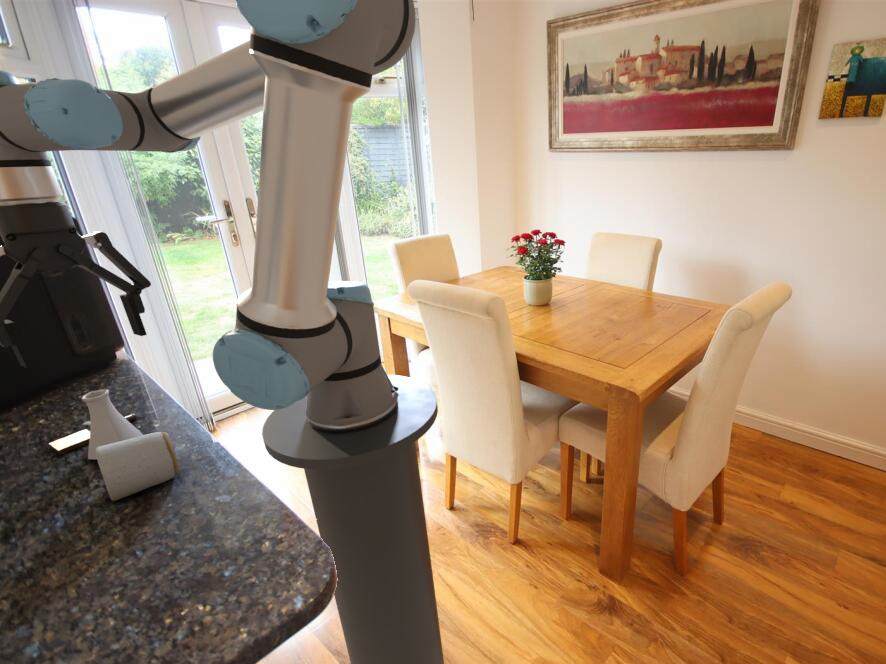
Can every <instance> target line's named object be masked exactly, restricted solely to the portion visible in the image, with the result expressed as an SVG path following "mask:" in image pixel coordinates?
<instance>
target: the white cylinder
mask: <svg viewBox="0 0 886 664" xmlns="http://www.w3.org/2000/svg"><path fill="white" fill-rule="evenodd" d="M173 445H174V444H173V442H172V440H171V437H170V435H169V434H168V433H167V432H166V431H155V432H151V433H146V434H143V435H142V436H139V437H135V438H131V439H127V440H123V441H119V442H115V443H112V444H108V445H104V446H100V447H97V448H96V455H97V459H96V460H97V464H98V466H99V470H100V473H101V475H102V476H101V477H102V478H103V482H104V484H105V487H106V490H107V493H108V496H109V498H110V500H111V501H112V502H116V501H118V500H121V499H124V498H126V497H128V496H131V495H134V494H137V493H140V492H142V491H144V490H146V489H149V488H152V487H154V486H157V485H159V484H162V483H165V482H167V481H170V480H171V479H173V478H175V477H176V476H178V475H179V473H180V471H181V468H180V464H179V460H178V457H177V454H176V450H175V448H174V446H173Z"/></svg>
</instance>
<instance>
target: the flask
mask: <svg viewBox="0 0 886 664" xmlns="http://www.w3.org/2000/svg"><path fill="white" fill-rule="evenodd" d="M109 394H110V390H109V389H98V390H94V391H93V390H92V391H89V392H88V393H85V394H84V395H82V397H81V401H82V402H83V403H86V407H87V408H88V412H89V419H90V425H89V431H90V440H89V443H88V451H87V460H97V455H96V448H97V447H100V446H104V445H108V444H112V443H115V442H119V441H123V440H127V439H131V438H135V437H139V436H142V435H144V434H143V433H142V432H141V431H140V430H139V429H138V428H137V427H136V426H135V425H134V424H132V423H131V421H130V422H129V421H127V420H126V419H125V418H124V417H125V416H123V414H121V412H119V411H118V410H117V408H116V407H115V406H114V404H113V403H112V402H111V399H110V396H109Z"/></svg>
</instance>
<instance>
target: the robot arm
mask: <svg viewBox="0 0 886 664" xmlns="http://www.w3.org/2000/svg"><path fill="white" fill-rule="evenodd" d="M235 1H236V4H235V5H236V7H237V10H238V11H239V13H240V14H241V16H242V17H243V18H244V19H245V20H246V21H247V23H248V24H249V25H250V37H249V38H250V39H249V40H248V41H246V42H243V43H241V44H239V45H237V46H235V47H233V48H231V49H229V50H227V51H225V52H222V53H220V54H218V55H216V56H214V57H211V58H209V59H208V60H206V61H203V62H202V63H199V64H197V65H195V66H193V67H191V68H189V69H187V70H184V71H182V72H180V73H177V74H176V75H174V76H172V77H169V78H168V79H165V80H163V81H161V82H159V83H158V84H155V85H153V86H151V87H149V88H147V89H145V90H142V91H139V92H126V91H120V90H119V91H118V90H109V89H102V88H98V87H96V86H95V85H93V84H91V83H90V82H88V81H85V80H81V79H75V78H73V79H72V78H70V79H69V78H68V79H65V78H64V79H62V78H57V77H54V78H46V79H45V80H38V81H32V82H23V83H20V81H19V79H18V78H17V76H15V75H14V74H12V73H10V72H8V71H5V70H1V69H0V237H1V242H2V243H1V245H0V257H1V256H6V257H7V258H9V259H11V260H12V261H14V262H15V265H14V266H13V269H12V270H11V271H10V275H9V277H8V279H7V280H6V282H5V284H4V285H3V287H2V288H1V290H0V347H3V348H9V347H11V348H12V350H13V352H14V354H15V357H16V359H17V361H18V363H19V365H20V366H21V367H22V368H25V369H28V370H29V369H31V368H34V367H35V364H34V362H33V360H32V358H31V356H30V354H29V352H28V350H27V347H26V345H25V343H24V341H23V339H22V336H21V334H20V332H19V330H18V328H17V326H16V323H15V322H14V321H12V320H10V319H7V317H8V315H9V314H10V313H11V310H12V309H13V307H14V305H15V303H16V302H17V301H18V299H19V297H20V296H21V294H22V292H23V291H24V289H25V288H26V286H27V284H28V282H29V281H30V280H31V279H32V278H33V276H34V274H35V273H38V274H50V273H52V272H55V271H58V270H59V271H68V270H73V268H75V267H78V268H81V269H83V270H85V271H86V272H88V273H90V274H92V275H94V276H96V277H97V278H99V279H101V280H102V281H104V282H106V283H108V284H110V285H112V286H113V287H115V288H117V289H119V290H120V291H122V292H124V294H119V298H120V302H121V303H122V306H123V309H124V312H125V314H126V317H127V320H128V322H129V325H130V328H131V331H132V333H133V335H136V336H140V337H144V336H147V334H148V333H147V331H146V328H145V325H144V323H143V320H142V317H141V315H140V314H145V312H146V308H145V305H144V303H143V300H142V297H141V294H142V291H143V290H144V289H147V288H150V287H151V285H152V283H151V281H150V280H149V279H148V278H147V277H146V276H145V274H143V273H141V271H140V270H138V269H137V268H136V267H135V266H134V265H133V263H131V262H130V261H129V260H128V259H127V258H126V257H125V256H124V255H123V254H121V252H120V251H119V250H118V249H117V248H116V247H114V245H113V243H112V242H111V239H110V238H109V236H108V234H107V233H106V232H103V231H92V232H91V233H90V234H85V235H81V234H80V233H79V232H78V230H77V228H76V225H75V222H74V220H73V218H72V217H73V216H72V214H71V212H70V210H69V206H68V204H67V203H65V202H64V201H60V199H59V198H62V197H64V194H63V191H62V188H61V185H60V182H59V181H58V179H57V178H58V177H57V176H56V173H55V171H54V168H53V166H52V162H51V161H50V159H49V155H48V152H60V151H62V152H64V151H105V152H106V151H109V152H110V151H111V152H112V151H113V152H117V151H118V152H119V151H120V152H123V151H124V152H125V151H127V152H158V153H159V152H160V153H169V154H172V153H173V154H174V153H178V152H187V151H190V150H193V149H194V148H195V147H197V145H198V143H199V141H200V140H201V137H202V136H204V135H207V134H209V133H211V132H214V131H216V130H219V129H221V128H223V127H224V128H225V127H227V126H228V125H231V124H234V123H236V122H239V121H240V120H243V119H245V118H248V117H250V116H251V117H252V116H253V115H256V114H258V113H260V112H263V115H262V126H261V128H262V129H261V145H260V162H259V175H258V176H259V177H258V191H257V207H256V208H257V209H256V224H255V239H254V240H255V241H254V253H253V255H254V256H253V257H254V258H253V268H252V269H253V270H252V272H253V273H252V284H251V285H252V286H251V288H249V289H247V290H246V291H244V292H242V294H240V295H239V296H238V298H237V301H236V312H235V326H234V329H232V330H228V331H227V332H225V333H224V334H223V335H222V336H221V337H220V338H218V339H217V341H215V344H214V346H213V349H212V362H213V366H214V369H215V372H216V374H217V375H218V377H219V379H220V380H221V382H222V384H224V386H226V388H228V389H229V391H230V392H231V394H233V395H234V396H236V397H237V398H238V399H240V400H241V401H242V402H244V403H246V404H248V405H250V406H252V407H254V408H258V409H261V410H267V411H274V410H279V409H283V408H286V407H288V406H290V405H292V404H293V403H295V402H296V401H298V400H301V399H303V398H304V397H306V396H307V395H308V397H307V404H306V412H305V413H306V417H307V422H308V424H309V426H310V427H312V428H313V429H315V430H317V431H320V432H324V433H333V434H340V433H350V432H356V431H360V430H364V429H367V428H370V427H373V426H375V425H377V424H379V423H381V422H383V421H385V420H386V419H388V418H389V417H390V416H391V415H392V414H393V413H394V412H395V411H396V409H397V407H398V399H397V393H396V391H398V388H397V387H395V386H393V385H392V383H391V381H390V379H389V377H388V376H387V374H388V373H387V372H386V370H385V369H384V367H383V364H382V357H381V351H380V343H379V336H378V330H377V323H376V316H375V308H374V306H375V303H374V302H373V299H372V294H371V289H370V287H369V285H367V284H366V283H364V282H361V281H354V280H330V273H331V266H332V259H333V253H334V246H335V237H336V231H337V223H338V215H339V210H340V209H339V208H340V201H341V196H342V195H341V194H342V187H343V182H344V181H343V180H344V173H345V167H346V160H347V152H348V144H349V137H350V130H351V122H352V115H353V109H354V104H355V103H356V101H357V100H358V99H360V98H362V97H363V96H365V95H366V94H368V93H369V92H370V91H371V86H372V80H373V76H375V75H378V74H380V73H382V72H384V71H387V70H389V69H391V68H392V67H394V66H396V65H397V64H398V63H399V62H400V61H401V60H402V59H403V58H404V57H405V55H406V53H407V52H408V50H409V48H410V46H411V45H412V42H413V38H414V34H415V30H416V9H415V8H416V7H415V3H414V0H235ZM87 244H88V245H89V246H90V247H92V248H93V249H97V250H98V251H99V252H100V253H101V254H102V255H103V256H104V257H105V258H106V259H108V260H109V261H110V262H111V263H112V264H113V265H114V266H115V267H116V268H117V269H118V270H119V271H120V272H121V273H123V274H124V275H125V276H126V277H127V278H128V279H129V280H130V281H131V282H129V281H128V280H126V279H124V278H122V277H120V276H119V275H117V274H115V273H113V272H112V271H110V270H108V269H106V268H105V267H103V266H101V265H99V264H98V263H96V262H95V261H94V260H92V259H90V258H89V257H87V256H85V255H83V252H84V250H85V248H86V245H87Z"/></svg>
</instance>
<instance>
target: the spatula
mask: <svg viewBox="0 0 886 664" xmlns="http://www.w3.org/2000/svg"><path fill="white" fill-rule="evenodd" d="M123 417H124V418H125V419H126V420H127V421H129V422H130V423H131V422H132V421H135V420H136V419H137V417H138V416H137V414H136V413H130V414H128V415H125V416H123ZM89 440H90V430H88V429H86V428H85V429H82V430H80V431H77V432H74V433H72V434H69V435H67V436H65V437H62V438H59V439H56V440H54V441H51V442H49V443H48V447H49V448H50V449H52V450H53V451H54V452H55V453H57V454H58V455H60V456H61V455H63V454H66V453H68V452H71V451H73V450H76V449H79V448H80V447H83V446H86V445H89Z"/></svg>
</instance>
